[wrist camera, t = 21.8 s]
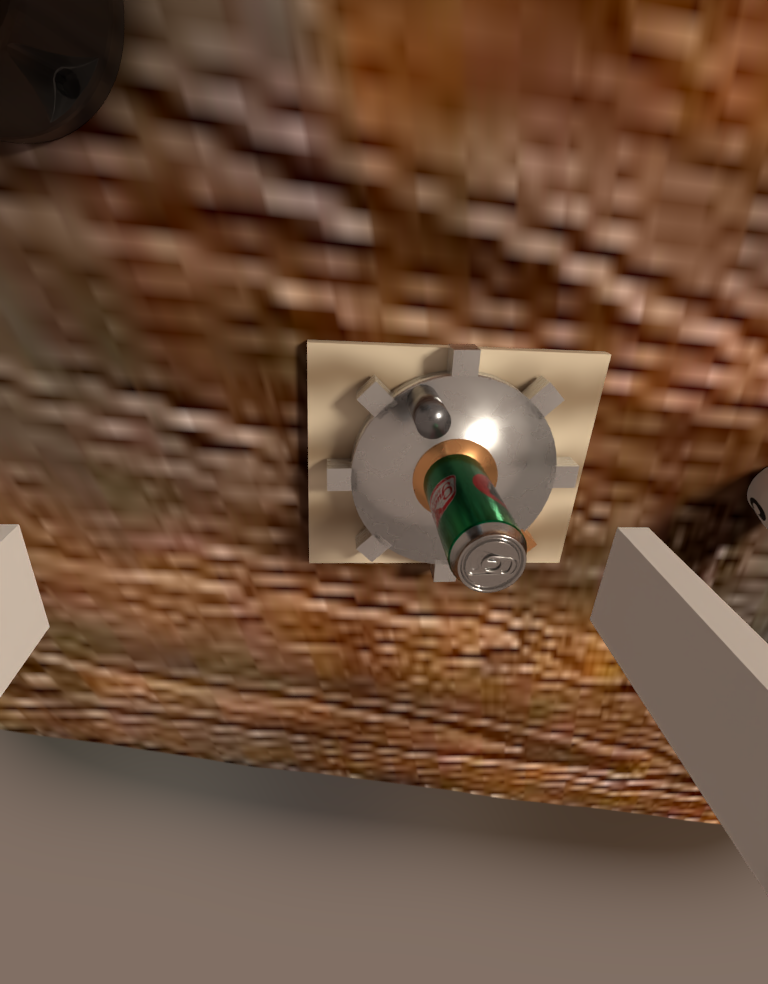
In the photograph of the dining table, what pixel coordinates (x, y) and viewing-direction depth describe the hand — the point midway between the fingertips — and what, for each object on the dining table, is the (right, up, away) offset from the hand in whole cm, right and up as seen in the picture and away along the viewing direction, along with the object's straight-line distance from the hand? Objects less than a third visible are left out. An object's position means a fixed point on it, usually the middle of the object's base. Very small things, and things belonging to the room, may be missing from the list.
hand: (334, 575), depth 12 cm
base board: (+7, +5, +34) cm, 35 cm away
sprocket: (+7, +4, +33) cm, 34 cm away
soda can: (+7, +3, +31) cm, 32 cm away
